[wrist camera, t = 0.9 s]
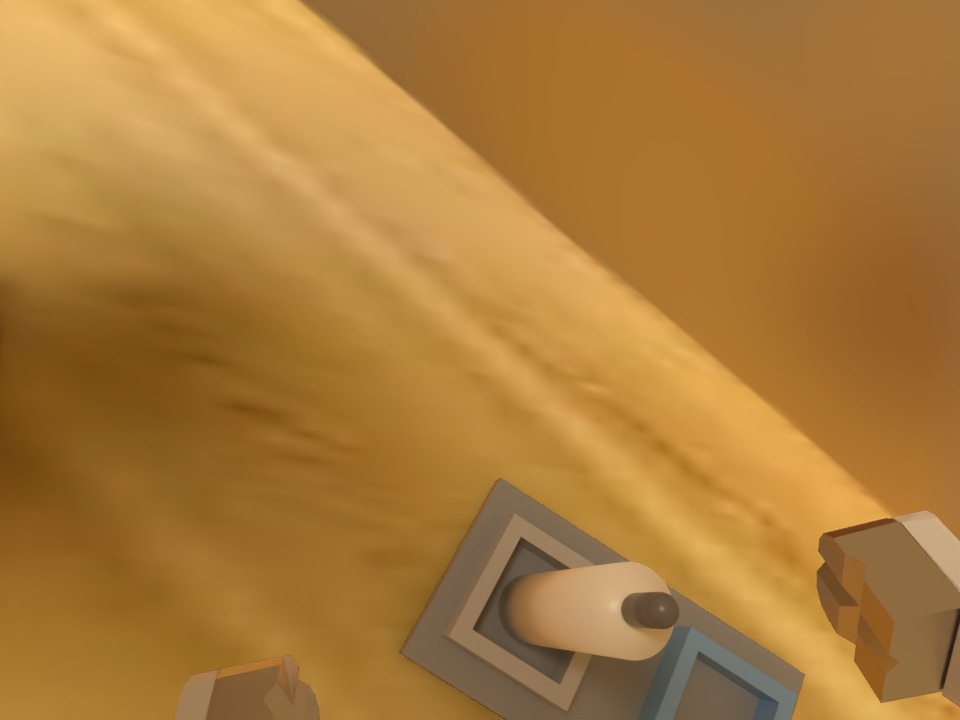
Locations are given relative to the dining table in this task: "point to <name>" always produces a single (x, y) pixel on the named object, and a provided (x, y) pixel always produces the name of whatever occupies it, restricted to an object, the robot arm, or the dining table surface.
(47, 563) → the dining table surface
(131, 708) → the dining table surface
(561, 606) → the knob-topped cream cylinder
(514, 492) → the lever base plate
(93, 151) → the dining table surface
